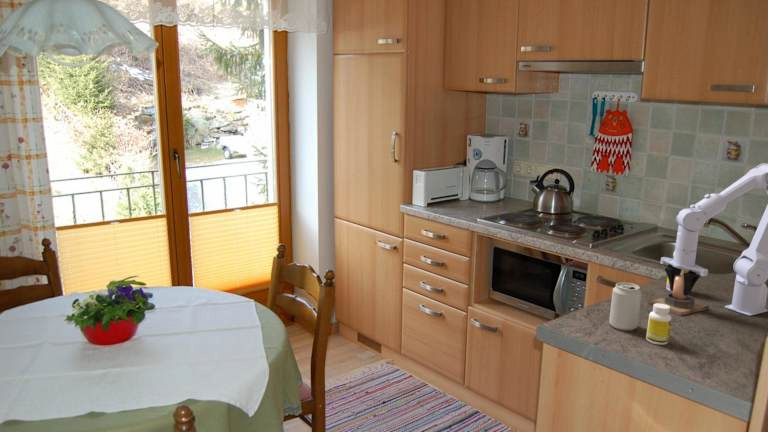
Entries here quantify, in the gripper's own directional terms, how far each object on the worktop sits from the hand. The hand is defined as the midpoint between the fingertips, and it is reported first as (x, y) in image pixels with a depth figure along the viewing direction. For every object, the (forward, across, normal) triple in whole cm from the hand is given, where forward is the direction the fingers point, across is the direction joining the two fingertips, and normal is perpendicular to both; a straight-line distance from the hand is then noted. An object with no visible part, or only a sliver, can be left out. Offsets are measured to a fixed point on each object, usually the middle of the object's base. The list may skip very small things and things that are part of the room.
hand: (679, 292), depth 194 cm
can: (+5, +4, -29) cm, 30 cm away
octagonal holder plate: (+4, 0, 0) cm, 4 cm away
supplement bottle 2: (+5, -10, +13) cm, 17 cm away
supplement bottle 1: (+5, +15, -29) cm, 33 cm away
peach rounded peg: (+2, 0, 0) cm, 2 cm away
